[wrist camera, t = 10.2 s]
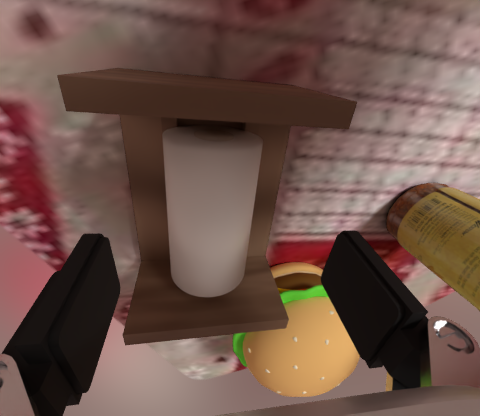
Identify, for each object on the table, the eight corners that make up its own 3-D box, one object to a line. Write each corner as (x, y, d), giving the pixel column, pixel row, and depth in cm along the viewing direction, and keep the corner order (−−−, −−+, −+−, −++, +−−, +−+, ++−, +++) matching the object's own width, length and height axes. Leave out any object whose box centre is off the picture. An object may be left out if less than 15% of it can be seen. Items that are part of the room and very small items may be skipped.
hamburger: (222, 332, 27) (232, 431, 20) (232, 250, 21) (253, 349, 14) (319, 323, 30) (360, 409, 22) (354, 247, 24) (425, 331, 16)
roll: (169, 120, 14) (153, 145, 10) (254, 126, 15) (273, 152, 10) (175, 245, 19) (166, 300, 14) (239, 245, 19) (249, 297, 15)
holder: (117, 68, 13) (57, 75, 7) (292, 85, 15) (357, 101, 9) (144, 261, 20) (125, 345, 14) (261, 256, 22) (286, 328, 16)
